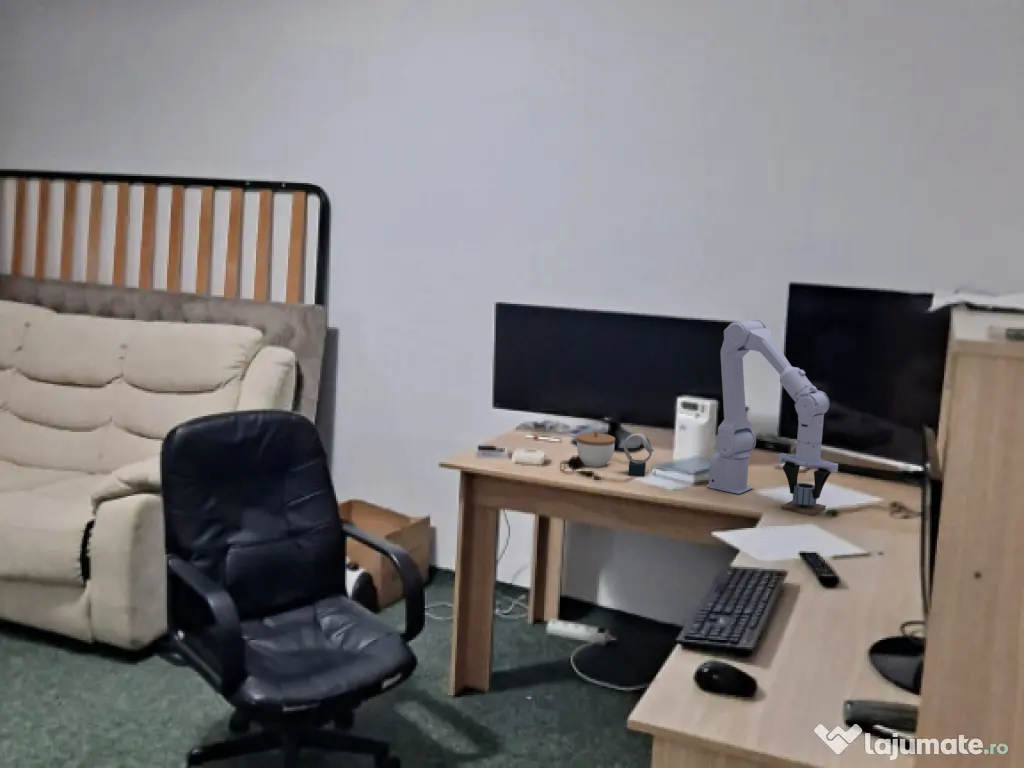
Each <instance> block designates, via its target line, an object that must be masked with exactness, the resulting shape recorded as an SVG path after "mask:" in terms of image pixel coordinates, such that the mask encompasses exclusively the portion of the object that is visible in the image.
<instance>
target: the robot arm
mask: <svg viewBox="0 0 1024 768" xmlns="http://www.w3.org/2000/svg"><path fill="white" fill-rule="evenodd" d="M772 336H773V335H772V331H771V330H770V329H769V328H768V327H767V325H766V324H765V323H764V321H762V320H760V319H754V320H749V321H748V320H746V321H734V322H731V323H730V324H729V325H728V326H727V327H726V328H725V329H724V330H723V342H722V346H721V348H720V366H721V367H720V368H721V382H722V383H721V385H722V400H723V402H722V403H723V418H724V419H723V420H722V422H721V423H720V424H719V425H718V428H717V436H716V438H715V448H716V451H718V452H715V453H714V454H712V455H711V458H710V460H709V461H710V462H709V469H708V470H709V471H708V484H707V485H706V487H707V488H709V489H714V490H718V491H722V492H723V491H724V492H728V493H731V494H736V495H741V494H743V493H746V492H748V491H751V490H753V489H754V486H752V485H748V479H749V478H748V477H749V465H750V464H749V462H750V456H751V451H753V450H754V449H755V447H756V444H757V438H756V435H755V433H754V431H753V424H752V423H751V422H750V420H749V419H747V414H746V413H747V411H746V397H745V396H746V394H745V393H746V391H745V378H744V375H745V374H744V359H743V358H744V357H745V356H746V355H747V354H748V353H749V351H754V352H760V354H761V355H762V356H763V357H764V359H766V360H767V362H768V363H769V364H770V365H771V366H772V368H774V369H775V371H776V372H777V374H779V375H780V376H779V383H780V384H781V386H782V387H783V388H784V389H785V391H786V392H787V394H788V395H789V396H790V398H792V400H793V401H794V402H795V403H794V408H795V412H796V413H797V417H798V418H797V420H798V426H797V438H796V450H795V454H791V453H784V452H781V453H778V455H777V462H778V463H784V464H783V465H782V470H783V472H784V473H785V476H786V479H787V482H788V487H789V494H790V495H793V488H794V484H795V483H798V477H799V472H800V468H801V467H802V466H803V467H806V468H812V469H816V470H814V471H813V477H814V485H815V487H814V499H819V498H820V497H821V493H822V491H823V488H824V485H825V484H826V482H827V480H828V478H829V477H830V475H831V474H832V473H833V474H834V473H837V472H838V470H839V463H837V462H832V461H828V460H826V459H822V458H821V452H822V443H823V442H822V441H823V431H824V430H823V429H824V420H825V419H824V418H825V414H826V413H827V412H828V410H829V408H830V399H829V396H827V393H826V392H824V391H822V390H818V387H816V386H815V385H813V383H812V382H811V381H810V380H809V379H808V377H807V376H806V371H805V370H804V369H800V367H797V366H796V367H795V366H792V365H791V363H790V362H789V360H788V359H787V357H786V356H785V355H784V353H783V352H782V350H781V348H780V347H779V346H778V344H777V342H776V341H775V340H774V338H773V337H772Z"/></svg>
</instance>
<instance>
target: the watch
mask: <svg viewBox="0 0 1024 768" xmlns="http://www.w3.org/2000/svg"><path fill="white" fill-rule="evenodd" d="M634 437H639V438H640V439H641V442H642V445H643V448H644V449H645V451H646V452H647V453H648V456H647V457H646V458H645V459H642V460H641V459H634V458H632V455H631V453H630V452H629V449H628V445H627V444H628V443H627V442H628V441H629V440H630V439H631V438H634ZM623 450H624V454H625V456H626V459H628V461H629V464H628V475H627V476H628V477H639V478H640V477H642V478H645V476H646V467H647V466H646V465H647V462H648V461H650V458H651V457H652V455H653V454H652V453H653V452H654V448H653V445H652V443H651V441H650V438H649V437H648V436H647V435H646V434H645V435H644V434H643V433H638V432H637V433H633V434H630V435H628V436H627V438H626V439H625V441H624V445H623Z"/></svg>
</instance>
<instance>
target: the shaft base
mask: <svg viewBox="0 0 1024 768" xmlns="http://www.w3.org/2000/svg"><path fill="white" fill-rule="evenodd" d="M825 507H826V508H827V505H826V504H820V503H816V504H813V505H803V504H797V503H795V502H793V499H792V500H790V501H788V502H786V503H784V504H782V505H781V508H780V509H781V510H785V511H790V512H794V513H799V514H803V515H807V516H812V517H813V516H815V515H817V514H819V513H821V512H822V510H823V509H824V508H825ZM824 510H825V509H824ZM824 510H823V511H824Z"/></svg>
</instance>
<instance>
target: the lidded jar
mask: <svg viewBox="0 0 1024 768" xmlns="http://www.w3.org/2000/svg"><path fill="white" fill-rule="evenodd" d="M576 440H577V441H576V449H577V454H578V457H579V459H580V460H581V461H582V463H583V464H584V466H587V467H592V468H593V467H594V468H599V467H601V468H602V467H606V464H608V462H610V461H611V460H612V457H613V455H614V452H615V445H616V444H615V443H616V437H615V436H613V435H610V434H605V433H599V431H597V430H596V431H595V430H594V431H593V432H586V433H580V434H578V435H577V436H576Z"/></svg>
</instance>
